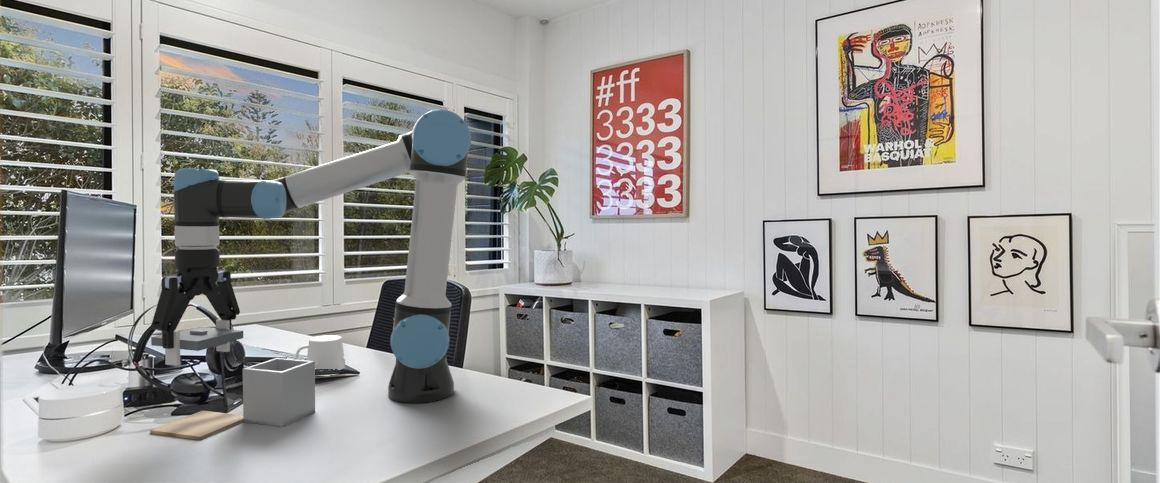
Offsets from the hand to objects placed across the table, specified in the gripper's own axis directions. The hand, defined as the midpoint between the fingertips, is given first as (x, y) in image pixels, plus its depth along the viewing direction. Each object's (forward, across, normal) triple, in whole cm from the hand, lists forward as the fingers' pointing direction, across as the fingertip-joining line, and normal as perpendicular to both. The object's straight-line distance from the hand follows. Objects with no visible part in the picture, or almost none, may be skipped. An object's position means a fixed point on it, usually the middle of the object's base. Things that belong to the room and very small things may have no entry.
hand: (199, 357), depth 123 cm
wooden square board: (+14, 0, 0) cm, 14 cm away
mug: (+14, -40, -3) cm, 43 cm away
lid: (-2, 0, 0) cm, 2 cm away
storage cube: (+14, -9, +11) cm, 20 cm away
